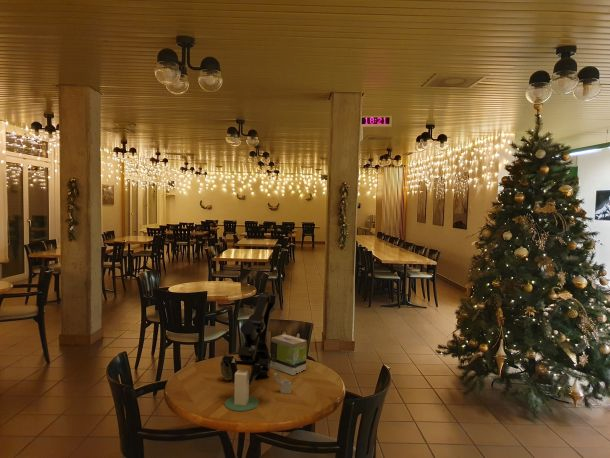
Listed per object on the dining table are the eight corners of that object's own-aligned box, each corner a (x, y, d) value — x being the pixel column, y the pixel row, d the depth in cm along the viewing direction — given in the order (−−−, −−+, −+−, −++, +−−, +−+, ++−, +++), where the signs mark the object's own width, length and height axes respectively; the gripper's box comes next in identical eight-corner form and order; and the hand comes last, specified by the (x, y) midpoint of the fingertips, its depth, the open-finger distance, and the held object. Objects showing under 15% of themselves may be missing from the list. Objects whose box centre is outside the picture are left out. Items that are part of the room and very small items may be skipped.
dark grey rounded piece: (222, 384, 185) (223, 366, 185) (217, 378, 192) (218, 360, 192) (239, 381, 189) (239, 363, 188) (233, 375, 195) (234, 358, 195)
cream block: (237, 399, 170) (238, 369, 170) (248, 400, 170) (248, 370, 169) (234, 404, 166) (234, 374, 165) (245, 405, 165) (245, 374, 165)
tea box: (306, 370, 205) (307, 339, 204) (292, 376, 197) (293, 344, 197) (283, 362, 215) (284, 332, 214) (269, 367, 207) (270, 337, 206)
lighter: (290, 391, 181) (291, 372, 180) (290, 393, 179) (291, 374, 179) (273, 390, 181) (274, 371, 181) (273, 392, 179) (274, 373, 179)
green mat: (250, 394, 177) (251, 393, 177) (263, 407, 166) (263, 406, 166) (220, 399, 170) (220, 398, 170) (231, 414, 159) (231, 413, 159)
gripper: (224, 335, 172) (213, 372, 162) (269, 339, 169) (261, 377, 159) (229, 348, 180) (219, 384, 170) (273, 352, 178) (266, 389, 167)
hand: (241, 383), depth 166 cm, fingers open, 6 cm apart
